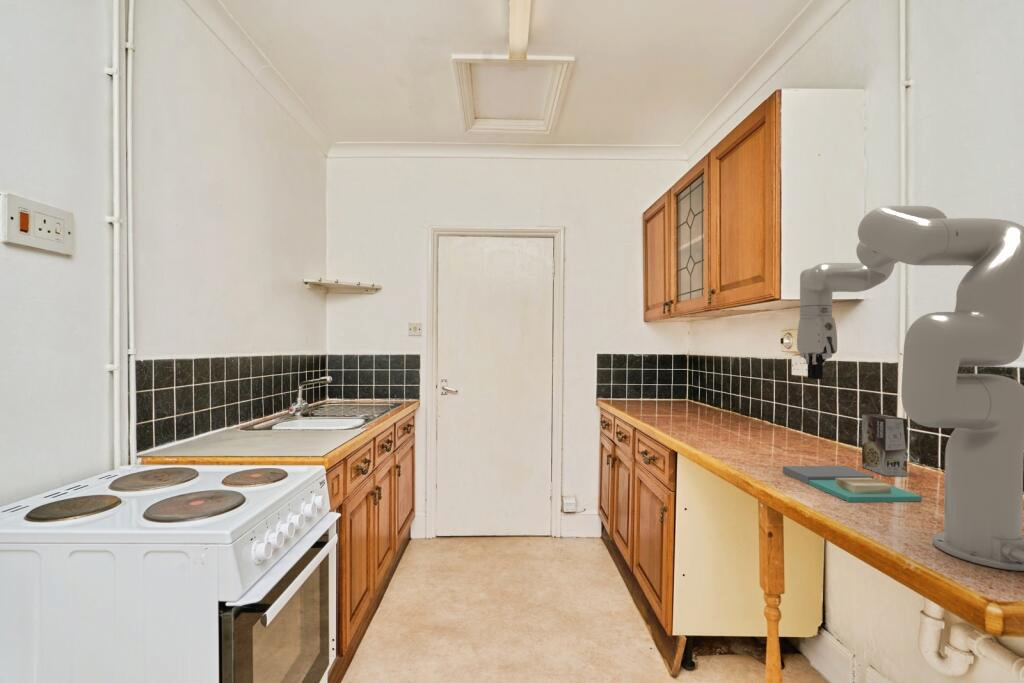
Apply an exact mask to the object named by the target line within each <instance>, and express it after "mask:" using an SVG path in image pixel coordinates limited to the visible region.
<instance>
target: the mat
mask: <svg viewBox="0 0 1024 683" xmlns="http://www.w3.org/2000/svg"><path fill="white" fill-rule="evenodd" d="M808 486H811V487H814V488H815V487H816V489H818V490H820V491H822V492H824V491H825V492H824V493H826V492H827V493H826V494H829V493H830V494H829V495H831V494H832V496H833V495H834V496H833V497H835V496H837V497H836V498H838V497H839V498H838V499H840V498H841V500H842V499H844V500H846V501H845V502H847V501H848V502H847V503H895V502H896V503H899V502H900V503H903V501H904V503H906V502H905V501H923V497H922V495H919V494H916V493H914V492H911V491H908V490H905V489H902V488H899V487H897V486H894V485H891V494H854V493H851V492H849V491H847V490H844V489H842V488H839V487H837V486H836V480H809V484H808ZM844 500H843V501H844Z"/></svg>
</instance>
